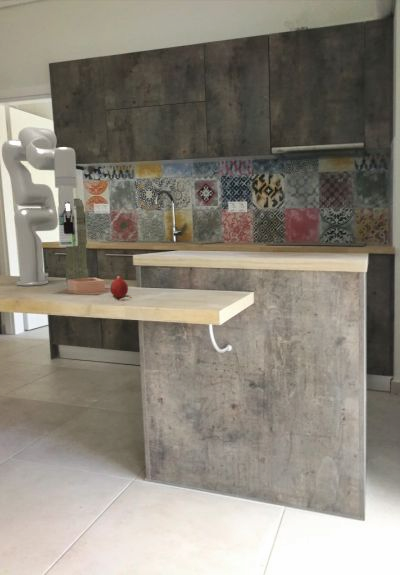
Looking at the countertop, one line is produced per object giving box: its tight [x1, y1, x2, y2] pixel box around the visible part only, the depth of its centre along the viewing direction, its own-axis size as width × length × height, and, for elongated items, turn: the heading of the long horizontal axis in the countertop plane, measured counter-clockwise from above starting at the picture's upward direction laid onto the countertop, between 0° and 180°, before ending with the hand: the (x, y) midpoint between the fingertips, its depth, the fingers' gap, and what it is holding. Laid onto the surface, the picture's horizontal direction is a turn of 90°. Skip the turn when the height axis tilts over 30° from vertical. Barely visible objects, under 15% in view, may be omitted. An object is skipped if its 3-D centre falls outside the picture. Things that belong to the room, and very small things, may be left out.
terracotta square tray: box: [66, 277, 106, 294], centre depth 194 cm, size 11×11×4 cm
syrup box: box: [57, 205, 78, 248], centre depth 192 cm, size 6×6×14 cm
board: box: [51, 287, 111, 296], centre depth 194 cm, size 18×18×1 cm
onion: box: [110, 275, 129, 301], centre depth 181 cm, size 6×6×8 cm
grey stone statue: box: [65, 198, 90, 283], centre depth 212 cm, size 9×12×35 cm
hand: (68, 233), depth 193 cm, fingers closed on syrup box, 6 cm apart
